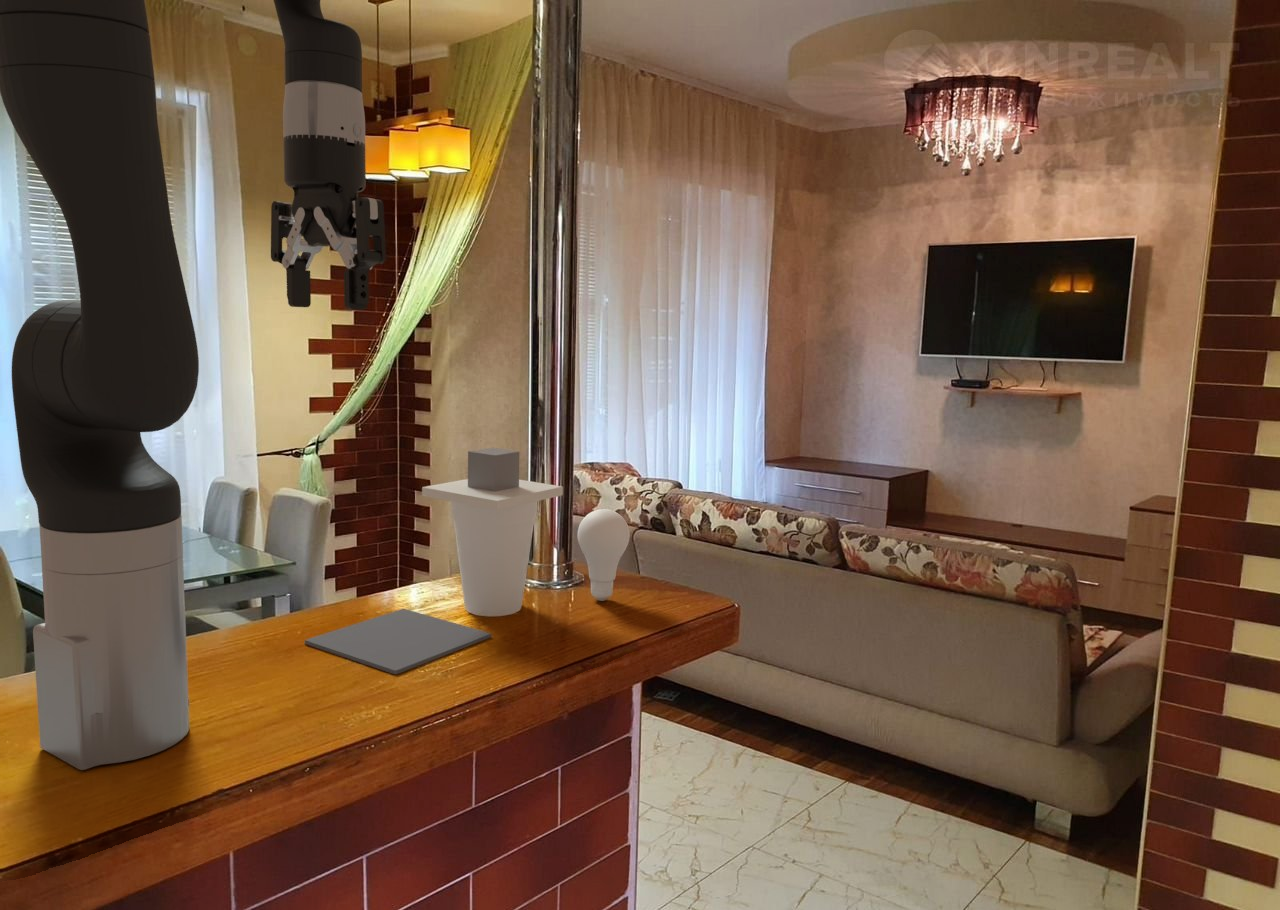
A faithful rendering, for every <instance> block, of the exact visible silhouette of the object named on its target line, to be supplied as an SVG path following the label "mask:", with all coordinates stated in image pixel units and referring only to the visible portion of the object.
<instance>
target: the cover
mask: <svg viewBox="0 0 1280 910" xmlns="http://www.w3.org/2000/svg"><path fill="white" fill-rule="evenodd" d="M563 493H564V486H563V485H562V486H561V485H555V484H549V483H542V482H539V481H538V482H537V481H532V480H531V481H530V480H526V479H525V480H524V479H520V451H518V450H511V449H503V448H497V447H496V448H495V447H488V448H483V449H482V448H481V449H476V450H475V449H474V450H468V451H467V478H465V479H459V480H454V481H449V482H444V483H438V484H433V485H426V486H422V488H421V496H422V497H425V498H430V499H435V500H441V501H446V502H456V503H461V504H467V505H472V506H477V507H482V508H488V509H493V510H501V509H505V508H509V507H514V506H518V505H522V504H527V503H531V502H535V501H537V502H539V501H543V500H544V501H545V500H548V499H552V498H556V497H557V498H558V497H561V496H563Z"/></svg>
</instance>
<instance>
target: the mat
mask: <svg viewBox="0 0 1280 910" xmlns="http://www.w3.org/2000/svg"><path fill="white" fill-rule="evenodd" d="M490 638H492V633H491V632H488V631H484V630H481V629H478V628H473V627H471V626H466V625H464V624H463V625H462V624H460V623H456V622H453V621H449V620H444V619H441V618H438V617H435V616H431V615H428V614H424V613H421V612H417V611H415V610H414V611H413V610H410V609H406V608H402V609H398V610H395V611H391V612H389V613H386V614H383V615H379V616H377V617H376V616H375V617H372V618H370V619H367V620H364V621H360V622H357V623H354V624H350V625H347V626H345V627H341V628H338V629H335V630H333V631H329V632H325V633H323V634H320V635H316V636H313V637H310V638H307V639H304V645H306V646H310V647H312V648H316V649H318V650H321V651H323V652H327V653H331V654H333V655H336V656H339V657H342V658H346V659H349V660H351V661H354V662H356V663H360V664H363V665H366V666H370V667H372V668H374V669H378V670H381V671H383V672H387V673H389V674H392V675H395V676H397V675H399V674H402V673H404V672H406V671H409V670H412V669H415V668H417V667H419V666H422V665H425V664H428V663H430V662H432V661H434V660H437V659H439V658H441V657H445V656H448V655H450V654H452V653H455V652H458V651H460V650H462V649H465V648H467V647H469V646H474V645H475V644H478V643H480V642H482V641H483V642H484V641H486V640H489V639H490Z"/></svg>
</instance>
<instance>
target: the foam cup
mask: <svg viewBox="0 0 1280 910" xmlns="http://www.w3.org/2000/svg"><path fill="white" fill-rule="evenodd" d="M450 502H451V501H450ZM450 507H451V509H450V513H451V514H450V517H451V518H452V519H453V525H454V535H455V541H456V551H457V557H458V558H457V559H458V565H459V572H460V573H459V574H460V580H461V589H462V595H463V597H462V598H463V604H464V610H466V611H467V613H470V614H473V615H475V616H481V617H483V616H484V617H503V616H508V615H513V614H515V613H517V612H519V611H521V609H522V603H523V600H524V599H523V598H524V591H525V587H526V586H525V585H526V579H527V573H528V565H529V559H530V552H531V551H530V550H531V545H532V539H533V533H534V525H535V519H537V518H536V517H537V516H538V501H535V502H531V503H527V504H522V505H518V506H514V507H509V508H505V509H501V510H493V509H488V508H482V507H477V506H472V505H467V504H461V503H456V502H451V504H450Z"/></svg>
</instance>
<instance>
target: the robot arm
mask: <svg viewBox="0 0 1280 910" xmlns="http://www.w3.org/2000/svg"><path fill="white" fill-rule="evenodd" d="M273 3H274V8H275V11H276V14H277V19H278V22H279V26H280V31H281V33H282V38H283V42H284V84H285V86H284V87H285V88H284V98H283V107H282V125H283V127H282V129H283V136H282V138H283V172H284V173H283V174H284V175H283V178H284V183H285V185H287V186H288V187H290V188H292V190H293V193H294V194H293V201H292V202H286V201H285V202H283V201H277V200H275V201H272V203H271V205H270V206H271V208H270V209H271V210H270V211H271V213H270V217H271V218H270V219H271V220H270V222H271V223H270V259H271V261H272V262H275V263H276V262H277V263H279V264H281V266H282V267H283V268H284V269H285V270H286V271H285V272H286V298H287V304H288V305H289V306H290V307H291V308H309V307H310V306H311V304H312V301H311V299H312V298H311V294H312V293H311V292H312V291H311V270H308V269H310V266H311V264H312V262H313V260H314V259H315V256H316V255H317V254H319V253H321V251H323V247H331V248H332V249H333V250H334V251H335V252H338V253H339V256H340V257H341V259H342V262H343V264H344V266H345V267H346V269H344V270H343V272H344V273H343V281H344V282H343V283H344V284H343V285H344V286H343V288H344V290H343V291H344V292H343V293H344V295H343V296H344V303H343V304H344V307H345V309H347V310H350V311H351V310H353V311H355V310H356V311H365V310H366V309H367V308H368V304H369V300H370V289H369V288H370V271H371V270H372V269H373V267H374V266H376V265H377V264H384V263H385V262H386V260H387V253H386V252H387V251H386V230H385V210H384V209H385V207H384V202H383V201H382V200H381V199H375V198H371V197H366V196H365V197H363V196H359V193H361V192H363V191H365V189H366V187H367V183H366V182H367V181H366V178H367V177H366V175H367V174H366V173H367V171H366V115H365V108H364V107H365V106H364V100H363V70H362V69H363V51H362V50H363V49H362V42H361V39H360V36H359V34H358V33H357V31H356V30H355V29H354V28H352V27H351V26H349V25H347V24H345V23H343V22H340V21H339V22H338V21H335V20H332V19H327V18H324V15H323V12H322V8H321V0H273ZM149 27H150V26H149V23H148V14H147V10H146V3H145V0H0V96H1V100H2V102H3V106H4V108H5V111H6V113H7V116H8V117H9V120H10V122H11V124H12V126H13V128H14V131H15V132H16V134H17V135H18V137H19V139H20V141H21V143H22V144H23V146H24V148H25V149H26V151H27V153H28V155H29V156H30V158H31V160H32V161H33V163H34V164H35V167H36V168H37V169H38V171H39V173H40V174H41V176H42V178H43V180H44V181H45V183H46V185H47V186H48V188H49V190H50V192H51V193H52V196H53V197H54V198H55V201H56V202H57V204H58V206H59V208H60V210H61V213H62V216H63V218H64V220H65V222H66V226H67V229H68V233H69V236H70V239H71V244H72V249H73V253H74V259H75V267H76V274H77V281H78V288H79V299H65V300H57V301H54V302H50V303H47V304H45V305H43V306H41V307H39V308H38V309H37V310H36V311H34V312H33V313H31V315H29V316H28V317H27V318H26V319H25V321H24V323H23V324H22V326H21V327H20V329H19V331H18V333H17V336H16V339H15V342H14V346H13V350H12V351H13V352H12V357H11V388H12V389H11V390H12V398H13V401H12V402H13V409H14V415H15V416H14V417H15V425H16V433H17V441H18V450H19V457H20V458H19V459H20V464H21V465H20V466H21V470H22V476H23V478H24V481H25V483H26V486H27V488H28V489H29V491H30V493H31V495H32V496H33V499H34V500H35V503H36V507H37V516H38V518H37V519H38V524H39V537H40V539H39V540H40V541H39V542H40V555H41V557H40V558H41V559H40V560H41V574H42V575H41V576H42V591H43V592H42V593H43V608H44V611H43V612H44V622H42V623H38V624H36V625H35V626H33V629H32V636H33V638H32V639H33V650H34V651H33V653H34V669H35V682H36V683H35V684H36V685H35V687H36V700H37V715H38V716H37V717H38V730H39V731H38V732H39V746H40V747H39V748H41V749H42V750H44V751H46V752H48V753H49V754H51V755H53V756H54V757H57V758H58V759H60V760H62V761H64V762H65V763H66V764H69V765H70V766H71V767H74V768H76V769H77V770H80V771H85V770H89V769H90V768H93V767H94V768H95V767H97V766H102V765H109V764H117V763H122V762H124V763H125V762H128V761H129V762H130V761H134V760H139V759H141V758H144V757H148V756H151V755H154V754H158V753H161V752H162V751H165V750H166V749H169V748H170V747H173V746H174V745H176V744H178V743H179V742H180V741H181V740H183V739H184V737H186V736H187V735H188V732H189V730H190V712H189V710H190V709H189V708H190V699H189V681H188V680H189V679H188V678H189V677H188V658H187V657H188V655H187V653H188V652H187V650H188V649H187V630H186V629H187V628H186V627H187V626H186V625H187V624H186V604H185V603H186V601H185V600H186V599H185V598H186V597H185V577H184V576H185V575H184V574H185V573H184V548H183V547H184V546H183V526H182V525H183V523H182V522H183V521H182V517H183V516H182V501H181V500H182V499H181V497H182V496H181V489H180V485H179V482H178V481H177V479H176V478H175V476H173V475H172V474H171V473H170V472H168V471H167V470H166V469H164V468H163V467H162V466H161V465H160V464H158V463H157V462H156V461H155V460H154V459H153V458H152V457H151V455H150V453H149V452H148V451H147V450H148V449H146V447H145V445H144V443H143V440H142V434H141V433H151V432H152V433H153V432H159V431H161V430H165V429H167V428H169V427H171V426H173V425H174V424H176V423H177V422H178V421H180V420H181V418H183V416H184V415H185V414H186V412H187V411H188V410H189V408H190V406H191V404H192V402H193V400H194V396H195V394H196V391H197V388H198V380H199V374H200V373H199V372H200V368H199V367H200V361H199V350H198V343H197V338H196V332H195V327H194V321H193V318H192V317H193V316H192V313H191V308H190V303H189V300H188V296H187V291H186V285H185V281H184V278H183V272H182V269H181V263H180V259H179V253H178V249H177V245H176V240H175V235H174V230H173V225H172V217H171V211H170V210H171V209H170V203H169V195H168V187H167V182H166V181H167V179H166V174H165V167H164V160H163V153H162V146H161V138H160V131H159V123H158V120H159V119H158V112H157V99H156V97H157V95H156V93H157V92H156V82H155V72H154V71H155V70H154V61H153V53H152V45H151V36H150V28H149ZM284 238H286V240H285V242H286V244H287V246H286V247H287V248H286V250H285V249H283V239H284ZM370 238H371V239H372V249H370V248H371V247H370ZM300 253H301V255H300Z"/></svg>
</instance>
